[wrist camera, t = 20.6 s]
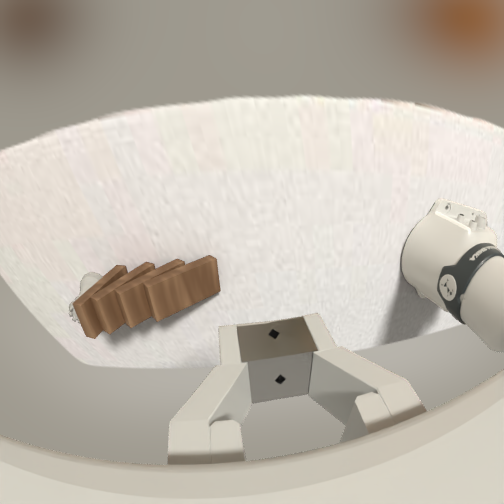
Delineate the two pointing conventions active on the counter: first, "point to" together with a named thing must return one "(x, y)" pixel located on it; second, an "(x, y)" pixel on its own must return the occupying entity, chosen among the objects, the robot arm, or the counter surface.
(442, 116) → the counter surface
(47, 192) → the counter surface
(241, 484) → the robot arm
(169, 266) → the domino
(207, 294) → the domino
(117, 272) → the domino
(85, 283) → the rook chess piece
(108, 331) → the domino
